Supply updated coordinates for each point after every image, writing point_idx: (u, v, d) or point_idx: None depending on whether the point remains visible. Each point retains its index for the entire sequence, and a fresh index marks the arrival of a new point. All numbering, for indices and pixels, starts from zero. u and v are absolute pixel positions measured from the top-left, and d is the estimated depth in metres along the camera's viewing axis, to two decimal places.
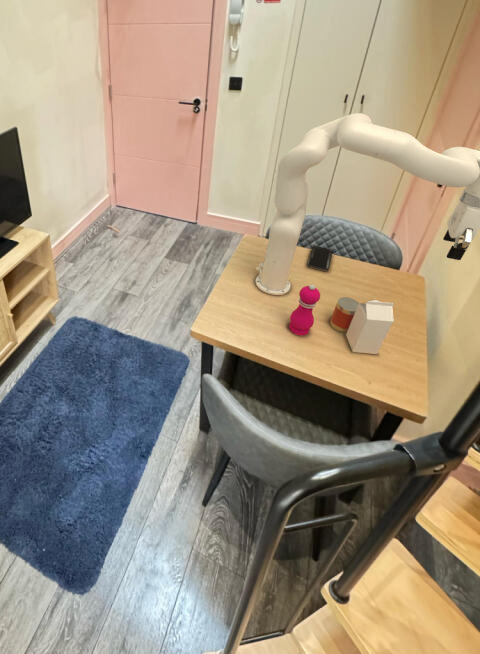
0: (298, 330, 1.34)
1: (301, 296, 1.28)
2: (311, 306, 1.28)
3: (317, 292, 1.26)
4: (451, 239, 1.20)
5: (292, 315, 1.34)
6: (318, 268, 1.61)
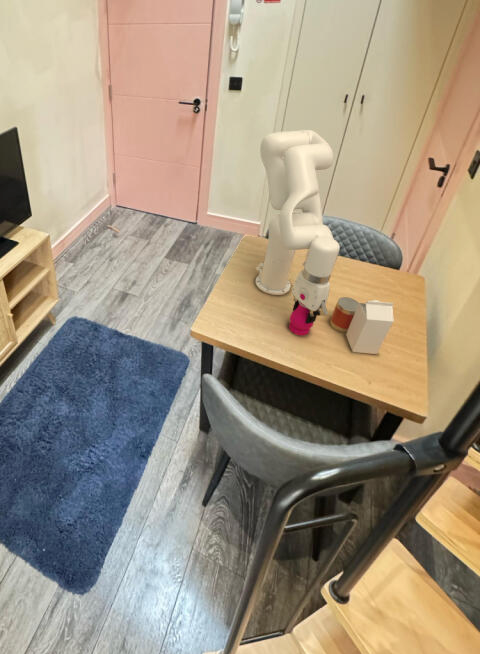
0: (298, 330, 1.34)
1: (301, 296, 1.28)
2: None
3: None
4: None
5: (292, 315, 1.34)
6: None
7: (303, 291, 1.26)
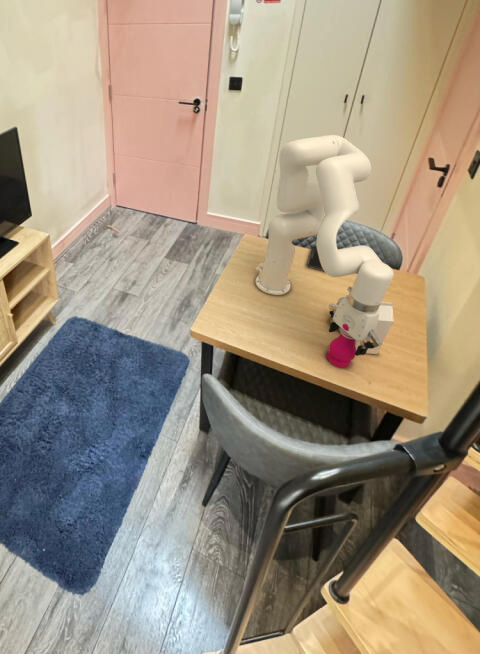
0: (338, 361, 1.23)
1: (344, 326, 1.16)
2: None
3: None
4: (335, 329, 1.24)
5: (332, 345, 1.23)
6: (318, 268, 1.61)
7: (348, 319, 1.15)
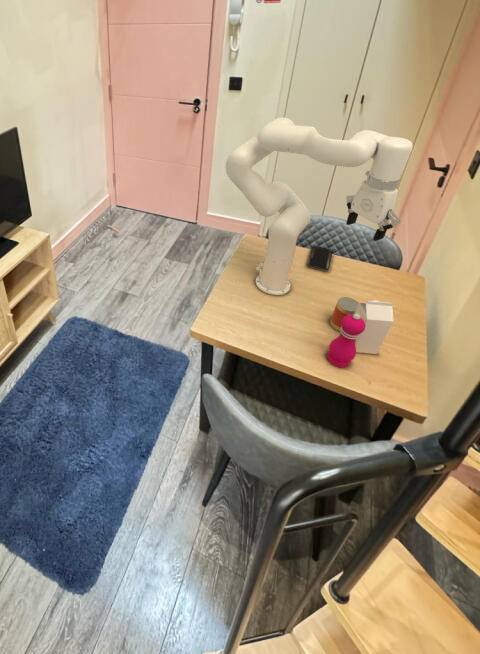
0: (338, 361, 1.23)
1: (344, 326, 1.16)
2: (355, 337, 1.16)
3: (362, 322, 1.14)
4: (352, 222, 1.26)
5: (332, 345, 1.23)
6: (318, 268, 1.61)
7: (366, 202, 1.17)
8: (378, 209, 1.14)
